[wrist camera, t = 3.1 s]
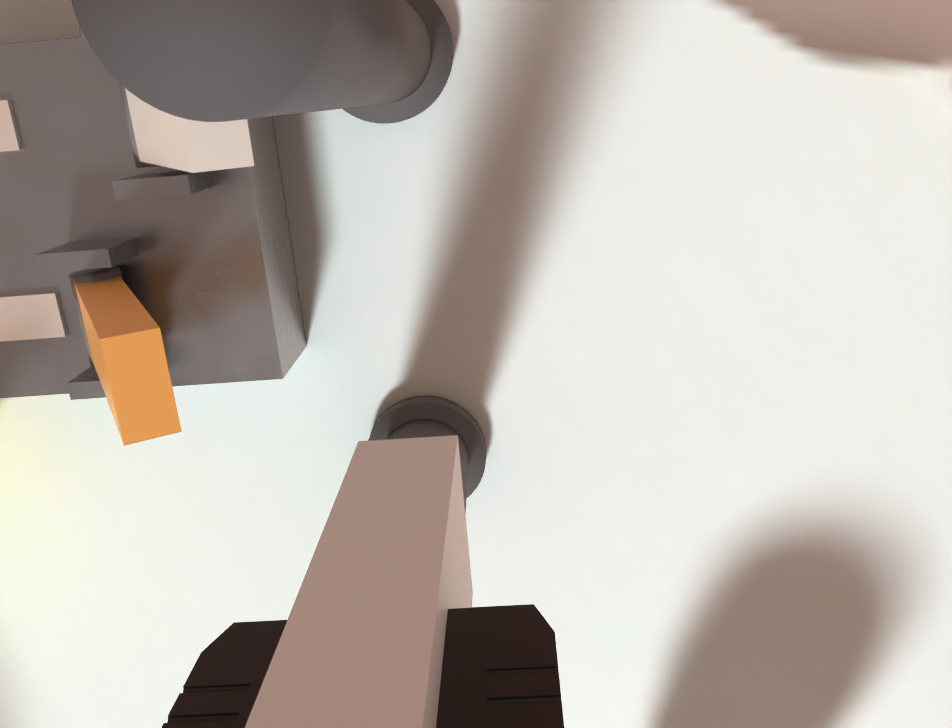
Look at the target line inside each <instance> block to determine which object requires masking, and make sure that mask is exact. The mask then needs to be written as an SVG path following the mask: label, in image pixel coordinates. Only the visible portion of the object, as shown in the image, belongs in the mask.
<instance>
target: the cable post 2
mask: <svg viewBox="0 0 952 728" xmlns="http://www.w3.org/2000/svg"><path fill="white" fill-rule="evenodd" d="M453 435H458V443H459V453H460V464H461V475H462V485H463V496H464V507H465V511H466V498H467V497H469V496H470V495H471V494H472V493H473V491H474V490H475V489H476V488H477V486H478V484H479V483H480V481H481V478H482V476H483V473H484V469H485V462H486V446H485V440H484V436H483V433H482V431H481V429H480V427H479V425H478V423H477V422H476V420H475V419H474V418H473V417H472V415H471V414H470V413H468V412H467V411H466V410H465V409H464V408H462V407H461V406H459V405H458V404H456V403H454V402H452V401H450V400H447V399H444V398H440V397H435V396H417V397H411V398H408V399H405V400H402V401H400V402H398V403H396V404H394V405H392V406H391V407H390V408H388V409H387V410H386V411H385V412H384V413H383V414H382V415H381V416H380V418H379V419H378V420H377V422H376V424H375V425H374V427H373V430H372V432H371V435H370V438H369V441H373V440H389V439H405V438H421V437H437V436H453Z"/></svg>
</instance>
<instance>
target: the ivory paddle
mask: <svg viewBox="0 0 952 728" xmlns="http://www.w3.org/2000/svg"><path fill="white" fill-rule="evenodd" d="M119 87H120V92H121V97H122V101H123V106H124V111H125V116H126V121H127V126H128V131H129V136H130V141H131V146H132V151H133V155H134V160H135V165H136V168H145V167H158V166H164V167H168V168H173V169H177V170H182V171H186V172H191V173H197V172H206V171H215V170H223V169H232V168H241V167H250V166H254V160H253V154H252V147H251V141H250V135H249V129H248V122H247V119H243V120H234V121H225V122H203V121H194V120H188V119H184V118H181V117H177V116H173V115H171V114H168V113H166V112H163V111H161V110H158V109H156V108H154V107H153V106H151V105H149V104H147V103H145V102H144V101H142V100H141V99H139V98H138V97H136V96H135V95H134V94H132V93H131V92H129V91H128V90H127V89H126V88H125V87H124V86H123V85H121V84H120V83H119Z"/></svg>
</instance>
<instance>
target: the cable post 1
mask: <svg viewBox="0 0 952 728" xmlns="http://www.w3.org/2000/svg"><path fill="white" fill-rule="evenodd" d="M72 3H73V7H74V10H75V14H76V17H77V19H78V22H79V24H80V27H81V29H82V32H83V34H84V35H85V37H86V39H87V41H88V43H89V45H90V47H91V48H92V50H93V51H94V53H95V54H96V56H97V57H98V59H99V60H100V62H101V63H102V64H103V66H104V67H105V68H106V69H107V70H108V71H109V72H110V74H111V75H112V76H113V77H114V78H115V79H116V80H117V81H118V82H119V83H120V84H121V85H123V86H124V87H125V88H126V89H127V90H128V91H129V92H131V93H132V94H134V95H135V96H136V97H138V98H139V99H141V100H142V101H144V102H145V103H147V104H149V105H151V106H153V107H154V108H156V109H158V110H161V111H163V112H166V113H168V114H171V115H173V116H177V117H181V118H184V119H188V120H194V121H203V122H225V121H234V120H243V119H252V118H261V117H270V116H279V115H288V114H297V113H305V112H314V111H323V110H332V109H341V108H342V109H344V110H345V111H346V112H348V113H350V114H351V115H353V116H355V117H357V118H360V119H362V120H365V121H369V122H374V123H395V122H400V121H403V120H407V119H410V118H412V117H414V116H416V115H418V114H420V113H421V112H423V111H424V110H426V109H427V108H428V107H429V106H430V105H431V104H432V103H433V102H434V101H435V100H436V99H437V98H438V96H439V95H440V93H441V92H442V90H443V89H444V87H445V85H446V83H447V80H448V77H449V75H450V71H451V66H452V58H453V45H452V38H451V34H450V30H449V26H448V24H447V22H446V19H445V17H444V15H443V13H442V12H441V10H440V8H439V7H438V6H437V4H436V3H435V1H434V0H72Z"/></svg>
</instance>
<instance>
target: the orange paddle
mask: <svg viewBox="0 0 952 728" xmlns="http://www.w3.org/2000/svg"><path fill="white" fill-rule="evenodd" d="M69 278H70V282H71V287H72V291H73V295H74V299H75V303H76V308H77V312H78V316H79V320H80V324H81V329H82V333H83V337H84V341H85V345H86V350H87V354H88V358H89V362H90V366H91V367H92V368H95V369H96V371H97V374H98V377H99V380H100V382H101V385H102V388H103V390H104V393H105V396H106V398H107V401H108V404H109V406H110V409H111V412H112V414H113V417H114V420H115V422H116V425H117V428H118V431H119V433H120V436H121V439H122V441H123V444H124V445H128V444H132V443H137V442H141V441H145V440H149V439H153V438H157V437H161V436H165V435H169V434H173V433H177V432H181V427H180V423H179V418H178V413H177V408H176V403H175V398H174V394H173V389H172V384H171V379H170V374H169V369H168V365H167V360H166V355H165V350H164V345H163V340H162V336H161V331H160V327H159V326H158V325H157V323H156V322H155V321H154V320H153V318H152V317H151V316H150V314H149V313H148V312H147V311H146V309H145V308H144V307H143V305H142V304H141V303H140V302H139V300H138V299H137V298H136V296H135V295H134V294H133V293H132V291H131V290H130V289H129V287H128V286H127V285H126V284H125V282H124V281H123V280H122V276H121V271H120V267H110V268H97V269H85V270H81V271H77V272H74V273H71V274H69Z"/></svg>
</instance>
